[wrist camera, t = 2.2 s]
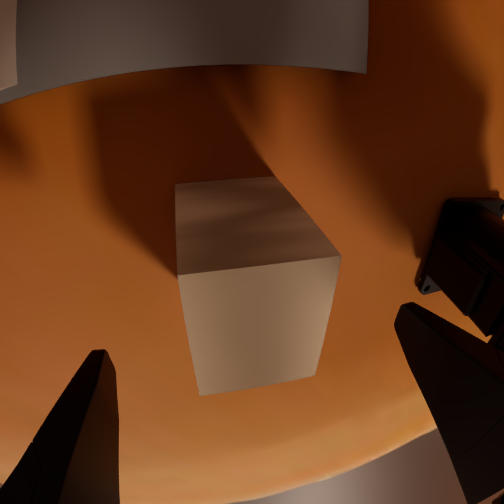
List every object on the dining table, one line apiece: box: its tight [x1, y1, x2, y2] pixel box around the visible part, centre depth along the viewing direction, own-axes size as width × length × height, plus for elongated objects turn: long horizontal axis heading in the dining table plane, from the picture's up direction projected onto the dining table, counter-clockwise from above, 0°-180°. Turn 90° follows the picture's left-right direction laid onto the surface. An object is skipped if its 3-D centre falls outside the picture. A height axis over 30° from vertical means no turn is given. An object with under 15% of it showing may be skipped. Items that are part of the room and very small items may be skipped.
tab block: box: [175, 176, 342, 396], centre depth 11 cm, size 4×5×6 cm
